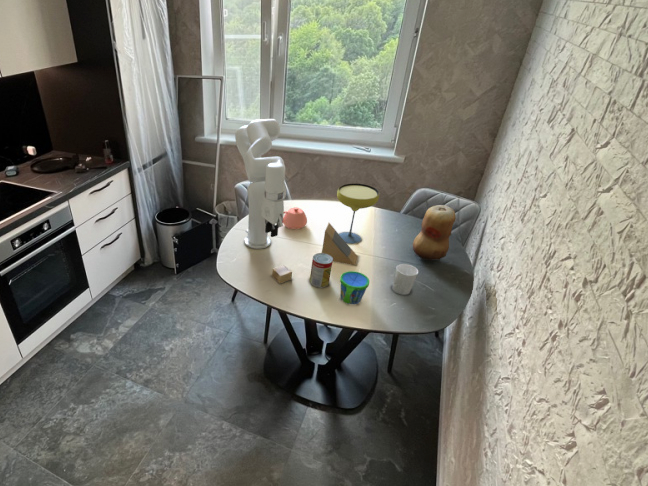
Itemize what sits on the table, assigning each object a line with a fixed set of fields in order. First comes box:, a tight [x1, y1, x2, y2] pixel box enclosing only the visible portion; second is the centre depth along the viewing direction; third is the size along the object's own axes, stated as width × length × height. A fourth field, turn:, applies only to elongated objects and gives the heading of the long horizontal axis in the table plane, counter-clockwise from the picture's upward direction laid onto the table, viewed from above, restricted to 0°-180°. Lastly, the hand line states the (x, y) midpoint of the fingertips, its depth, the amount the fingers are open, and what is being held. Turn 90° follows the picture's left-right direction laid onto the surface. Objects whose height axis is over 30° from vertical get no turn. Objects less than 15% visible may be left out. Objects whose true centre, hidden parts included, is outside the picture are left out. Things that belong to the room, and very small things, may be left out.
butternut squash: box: [412, 204, 457, 261], centre depth 172 cm, size 14×13×25 cm
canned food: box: [309, 252, 333, 288], centre depth 165 cm, size 8×8×12 cm
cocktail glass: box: [336, 183, 380, 245], centre depth 189 cm, size 18×18×25 cm
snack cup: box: [339, 270, 370, 305], centre depth 155 cm, size 16×10×10 cm
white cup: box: [391, 263, 419, 296], centre depth 159 cm, size 8×8×10 cm
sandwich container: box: [321, 222, 359, 266], centre depth 178 cm, size 9×15×15 cm, turn 64°
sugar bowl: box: [282, 206, 308, 230], centre depth 206 cm, size 12×14×10 cm
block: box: [271, 264, 293, 284], centre depth 171 cm, size 6×6×4 cm
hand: (271, 233), depth 169 cm, fingers open, 3 cm apart
